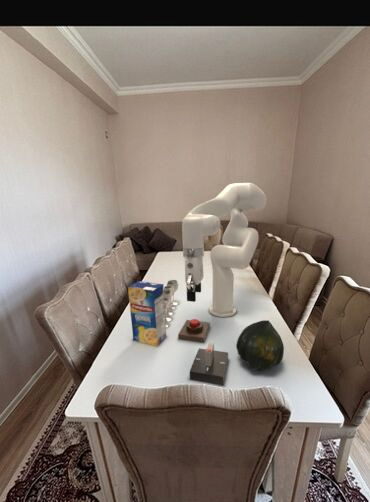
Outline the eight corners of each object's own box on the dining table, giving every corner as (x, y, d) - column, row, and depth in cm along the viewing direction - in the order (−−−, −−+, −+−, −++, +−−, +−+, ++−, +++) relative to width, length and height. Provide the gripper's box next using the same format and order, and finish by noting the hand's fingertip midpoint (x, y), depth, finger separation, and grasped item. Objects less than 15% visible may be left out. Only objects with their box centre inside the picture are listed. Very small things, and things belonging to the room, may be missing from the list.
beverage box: (157, 346, 92) (153, 290, 86) (133, 340, 97) (127, 286, 90) (166, 336, 98) (163, 284, 91) (143, 331, 102) (138, 280, 96)
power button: (191, 322, 101) (191, 318, 101) (200, 323, 100) (200, 319, 100) (189, 326, 98) (188, 322, 97) (198, 327, 97) (197, 323, 96)
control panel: (198, 355, 86) (198, 347, 85) (228, 360, 83) (228, 352, 82) (189, 379, 75) (189, 370, 74) (223, 385, 72) (223, 376, 71)
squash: (228, 358, 75) (265, 326, 71) (228, 334, 90) (259, 306, 85) (262, 388, 76) (301, 359, 71) (257, 359, 90) (289, 333, 86)
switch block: (186, 324, 107) (186, 315, 106) (209, 327, 104) (209, 318, 103) (178, 339, 96) (178, 330, 95) (203, 342, 93) (203, 333, 92)
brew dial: (209, 356, 81) (209, 341, 79) (213, 356, 80) (214, 342, 79) (205, 365, 76) (205, 351, 75) (211, 366, 76) (211, 351, 74)
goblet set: (168, 328, 104) (167, 299, 100) (155, 328, 105) (153, 299, 101) (180, 301, 130) (179, 277, 126) (169, 301, 131) (167, 277, 127)
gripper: (198, 258, 81) (198, 306, 86) (208, 247, 97) (208, 288, 102) (176, 257, 83) (178, 304, 89) (189, 246, 99) (190, 287, 104)
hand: (194, 296), depth 95 cm, fingers open, 8 cm apart
